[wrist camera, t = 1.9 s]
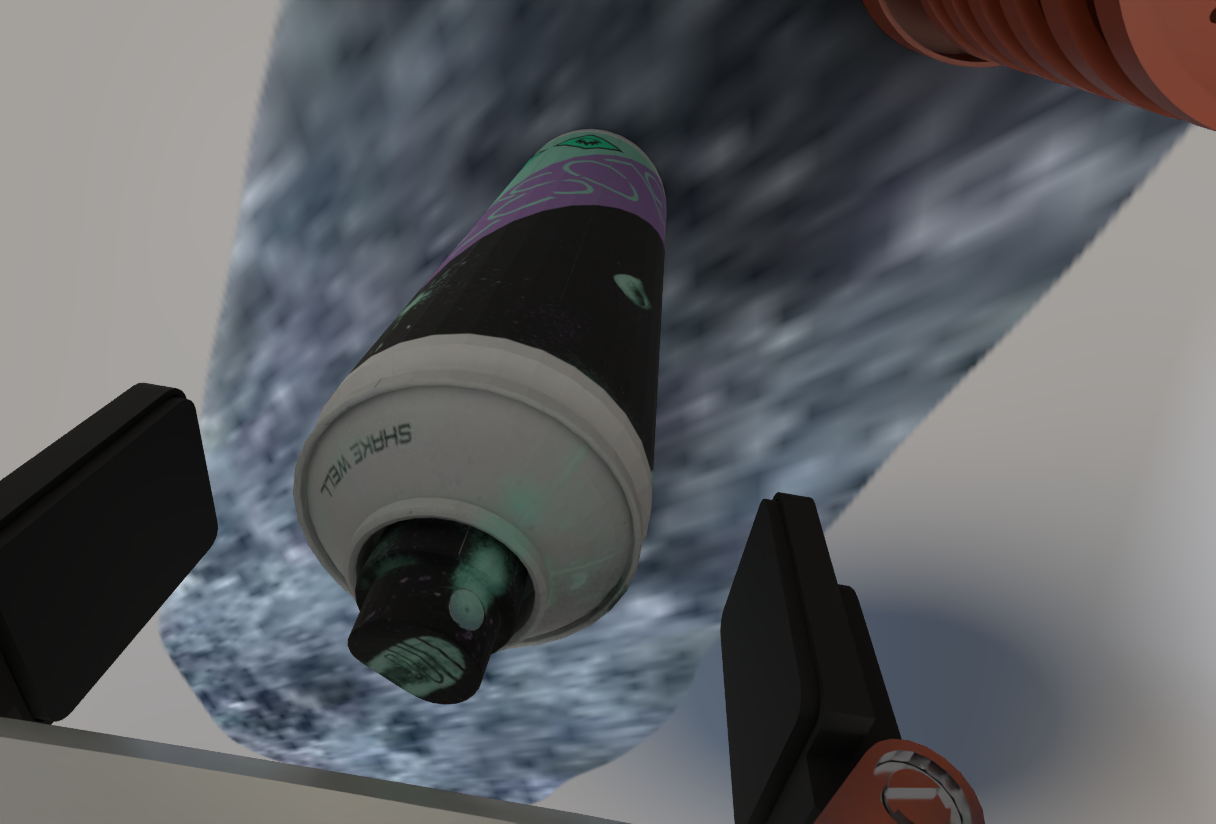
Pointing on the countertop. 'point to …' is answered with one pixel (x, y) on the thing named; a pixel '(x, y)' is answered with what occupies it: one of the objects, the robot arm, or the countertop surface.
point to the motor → (1075, 45)
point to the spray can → (501, 428)
